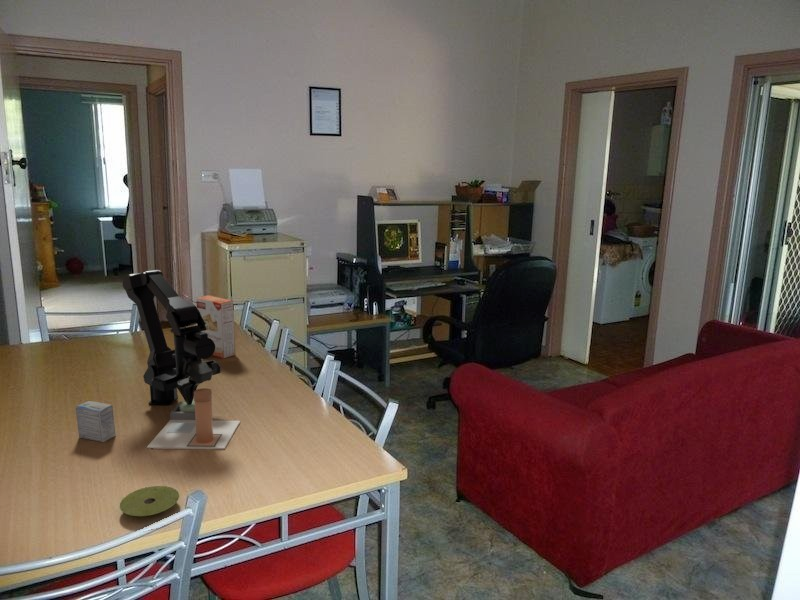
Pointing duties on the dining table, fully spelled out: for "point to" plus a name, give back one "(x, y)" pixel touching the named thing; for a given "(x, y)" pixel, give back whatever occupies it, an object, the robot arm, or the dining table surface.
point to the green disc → (149, 500)
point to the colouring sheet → (193, 435)
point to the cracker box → (218, 323)
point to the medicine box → (95, 421)
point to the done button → (187, 407)
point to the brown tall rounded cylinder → (203, 415)
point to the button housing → (181, 414)
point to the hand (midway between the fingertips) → (189, 404)
